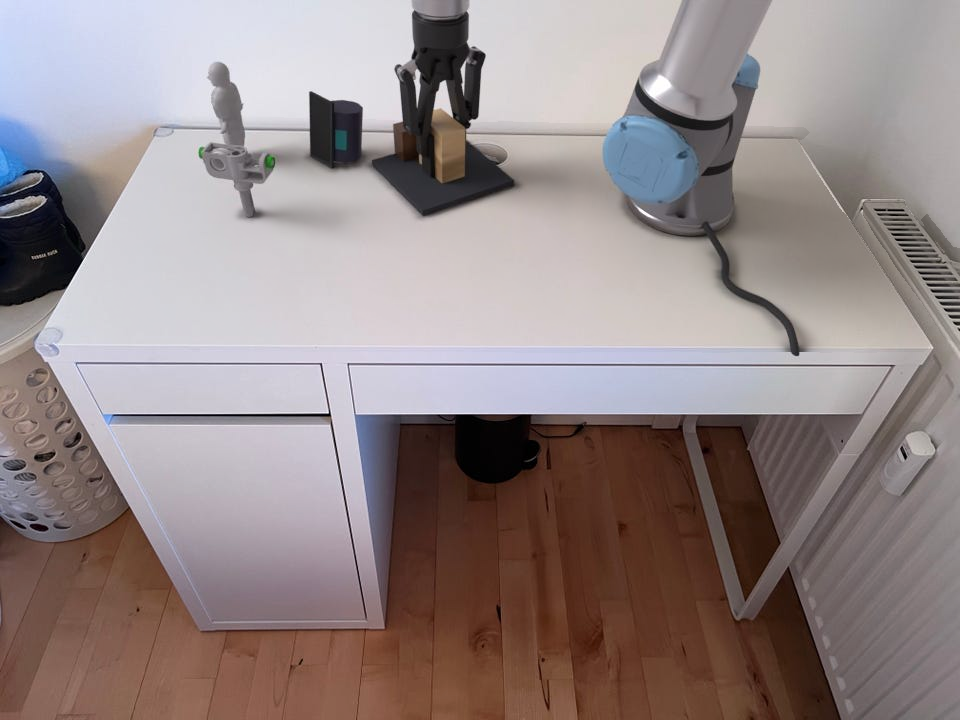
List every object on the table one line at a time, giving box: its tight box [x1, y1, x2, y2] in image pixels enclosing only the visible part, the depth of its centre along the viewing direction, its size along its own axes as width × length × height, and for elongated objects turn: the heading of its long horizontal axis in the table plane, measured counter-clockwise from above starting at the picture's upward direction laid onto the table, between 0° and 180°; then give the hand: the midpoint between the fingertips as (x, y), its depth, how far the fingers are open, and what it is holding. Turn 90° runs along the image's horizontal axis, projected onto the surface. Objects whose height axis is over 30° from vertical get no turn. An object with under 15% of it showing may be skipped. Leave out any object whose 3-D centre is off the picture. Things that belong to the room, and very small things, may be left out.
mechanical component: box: [198, 141, 277, 218], centre depth 103 cm, size 3×10×10 cm, turn 78°
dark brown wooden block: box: [392, 121, 419, 162], centre depth 116 cm, size 4×8×5 cm, turn 123°
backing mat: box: [371, 139, 515, 217], centre depth 115 cm, size 16×16×1 cm
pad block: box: [419, 108, 465, 184], centre depth 111 cm, size 7×4×8 cm, turn 33°
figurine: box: [206, 61, 246, 147], centre depth 112 cm, size 9×4×15 cm, turn 174°
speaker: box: [308, 90, 364, 170], centre depth 114 cm, size 8×6×10 cm
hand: (441, 167), depth 114 cm, fingers closed on pad block, 4 cm apart
